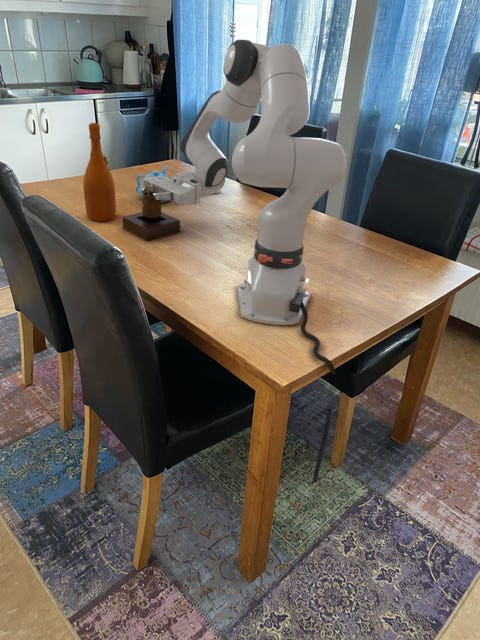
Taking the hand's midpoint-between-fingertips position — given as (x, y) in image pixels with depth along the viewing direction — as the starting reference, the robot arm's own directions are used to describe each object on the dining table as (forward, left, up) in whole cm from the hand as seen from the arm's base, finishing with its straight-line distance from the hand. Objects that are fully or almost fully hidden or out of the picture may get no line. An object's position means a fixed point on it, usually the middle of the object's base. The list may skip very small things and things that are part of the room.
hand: (148, 194), depth 151 cm
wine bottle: (+7, +18, -12) cm, 23 cm away
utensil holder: (+1, -1, -7) cm, 7 cm away
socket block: (+1, -1, -12) cm, 12 cm away
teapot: (+32, +5, -12) cm, 34 cm away
